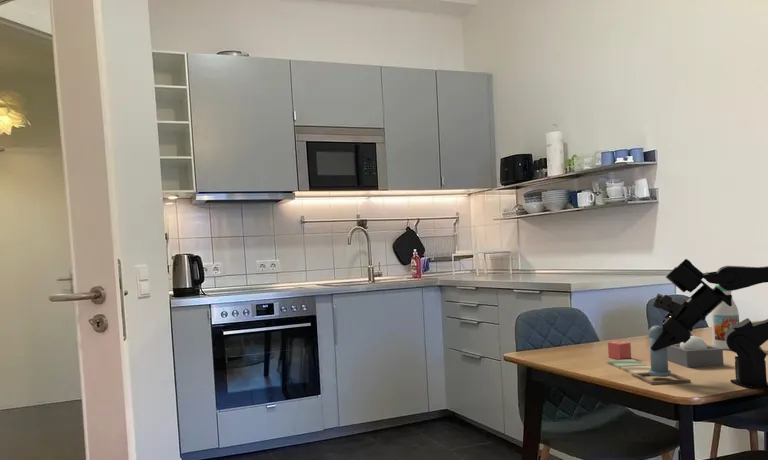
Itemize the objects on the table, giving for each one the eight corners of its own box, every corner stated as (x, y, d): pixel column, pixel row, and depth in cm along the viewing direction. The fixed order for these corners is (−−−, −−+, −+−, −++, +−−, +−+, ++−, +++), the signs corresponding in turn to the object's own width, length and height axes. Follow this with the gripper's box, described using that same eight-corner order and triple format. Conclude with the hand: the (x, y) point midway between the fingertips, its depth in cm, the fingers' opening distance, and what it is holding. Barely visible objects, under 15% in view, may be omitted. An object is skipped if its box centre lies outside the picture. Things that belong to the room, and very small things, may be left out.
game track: (690, 382, 141) (690, 379, 141) (651, 384, 140) (651, 382, 140) (636, 361, 168) (636, 358, 168) (603, 362, 167) (602, 360, 167)
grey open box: (723, 365, 158) (722, 349, 158) (687, 367, 157) (686, 350, 157) (700, 358, 168) (699, 342, 168) (666, 360, 168) (665, 344, 168)
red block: (631, 357, 173) (630, 342, 173) (620, 359, 171) (619, 343, 171) (619, 355, 177) (618, 340, 177) (608, 357, 175) (607, 341, 175)
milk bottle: (707, 347, 184) (703, 285, 185) (724, 345, 187) (721, 283, 188) (729, 351, 177) (725, 286, 178) (746, 348, 180) (743, 285, 180)
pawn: (674, 376, 143) (672, 326, 144) (655, 377, 143) (653, 327, 143) (663, 372, 148) (661, 323, 149) (645, 373, 148) (642, 324, 148)
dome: (714, 362, 159) (712, 337, 160) (689, 363, 159) (688, 338, 159) (698, 357, 167) (697, 333, 167) (674, 358, 166) (673, 334, 166)
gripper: (672, 280, 153) (629, 320, 158) (671, 285, 136) (624, 330, 141) (707, 310, 149) (663, 350, 154) (711, 319, 133) (661, 364, 137)
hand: (652, 348), depth 147 cm, fingers closed on pawn, 4 cm apart
